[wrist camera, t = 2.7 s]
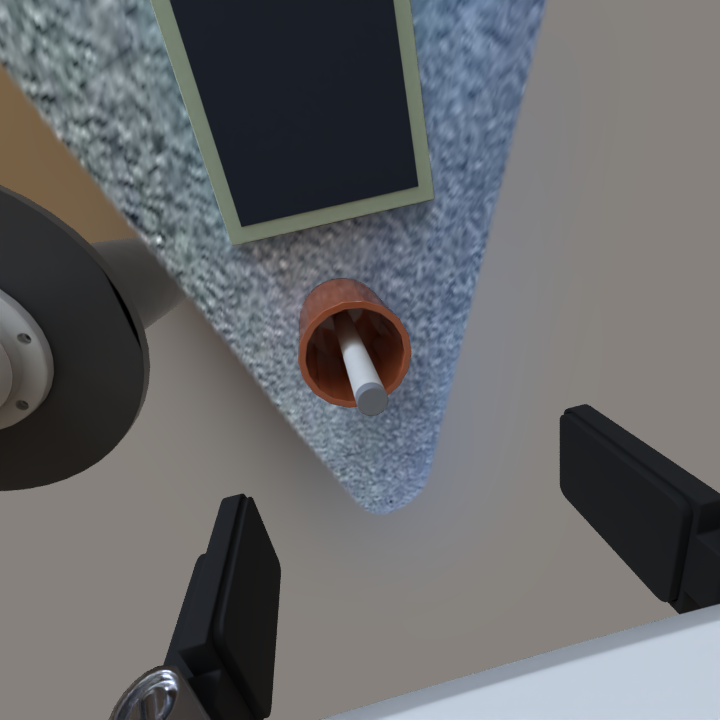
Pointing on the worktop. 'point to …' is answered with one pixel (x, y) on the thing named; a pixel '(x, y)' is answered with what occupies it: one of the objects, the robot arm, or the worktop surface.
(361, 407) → the stylus
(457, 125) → the worktop surface
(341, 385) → the pen cup
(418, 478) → the worktop surface
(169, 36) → the tablet
